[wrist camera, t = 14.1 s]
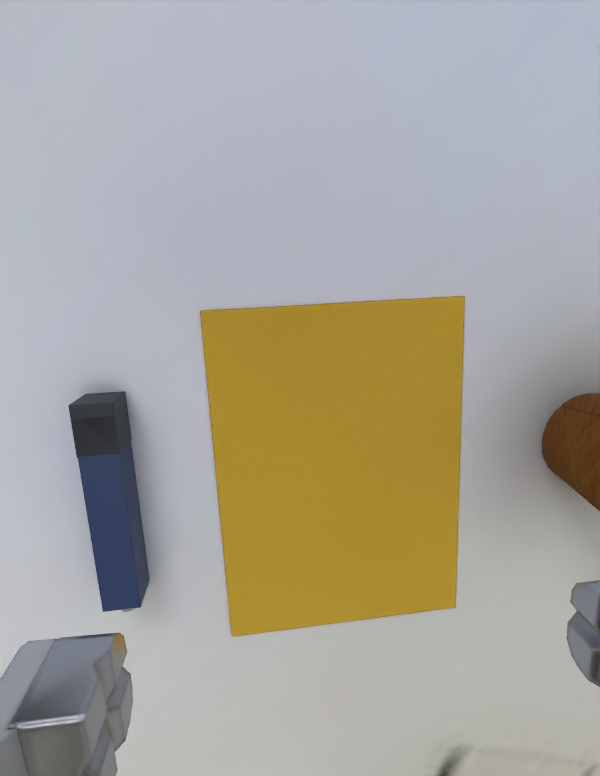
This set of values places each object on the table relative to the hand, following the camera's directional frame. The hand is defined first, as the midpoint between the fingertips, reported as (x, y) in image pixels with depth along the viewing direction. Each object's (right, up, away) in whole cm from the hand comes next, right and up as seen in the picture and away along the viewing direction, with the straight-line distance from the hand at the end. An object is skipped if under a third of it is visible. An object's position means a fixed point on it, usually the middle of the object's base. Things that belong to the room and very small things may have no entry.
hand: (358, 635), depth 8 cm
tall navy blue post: (-12, -2, +20) cm, 24 cm away
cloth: (+2, -1, +22) cm, 22 cm away
